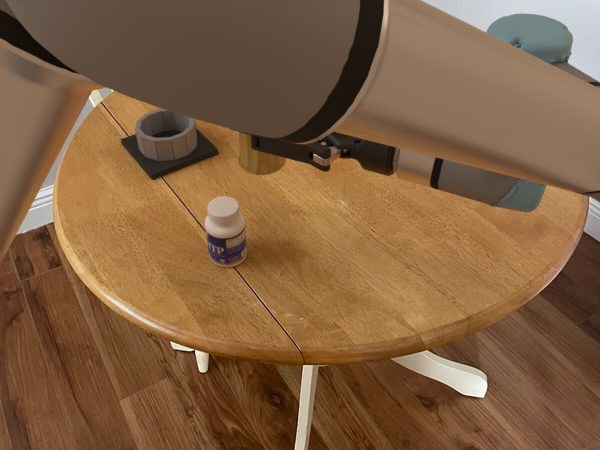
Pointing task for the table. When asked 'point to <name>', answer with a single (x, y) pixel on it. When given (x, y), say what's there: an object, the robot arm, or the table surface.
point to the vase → (257, 158)
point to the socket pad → (169, 165)
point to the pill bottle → (225, 232)
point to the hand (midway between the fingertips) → (222, 98)
